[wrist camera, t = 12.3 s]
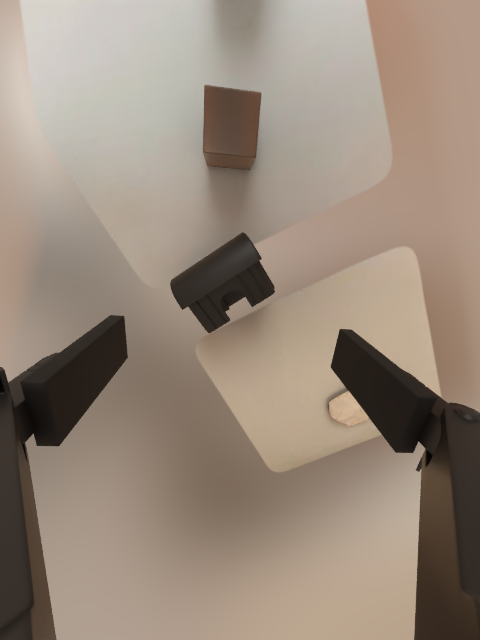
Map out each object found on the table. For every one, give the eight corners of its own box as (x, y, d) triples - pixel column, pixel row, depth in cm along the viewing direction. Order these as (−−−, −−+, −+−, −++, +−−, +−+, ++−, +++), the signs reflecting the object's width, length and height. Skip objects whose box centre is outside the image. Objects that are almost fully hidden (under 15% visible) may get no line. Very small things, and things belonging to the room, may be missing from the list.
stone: (321, 395, 39) (326, 403, 37) (404, 361, 38) (414, 367, 36) (335, 429, 42) (341, 438, 40) (413, 398, 41) (423, 406, 39)
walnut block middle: (254, 116, 26) (261, 91, 21) (250, 170, 28) (255, 157, 23) (208, 111, 26) (204, 84, 21) (206, 165, 27) (202, 151, 23)
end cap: (241, 231, 30) (246, 231, 24) (269, 279, 32) (281, 291, 26) (176, 275, 31) (163, 286, 25) (207, 318, 34) (203, 338, 27)
